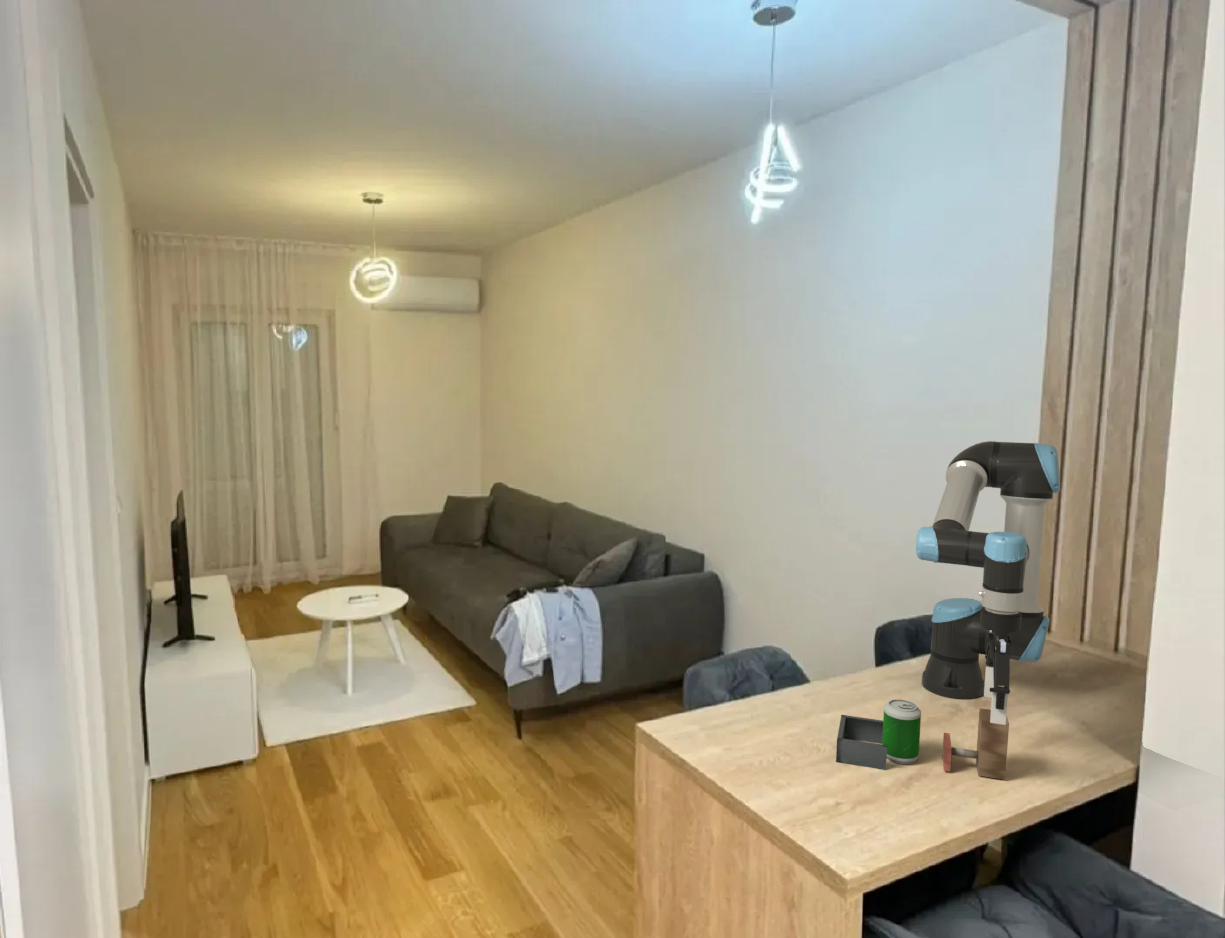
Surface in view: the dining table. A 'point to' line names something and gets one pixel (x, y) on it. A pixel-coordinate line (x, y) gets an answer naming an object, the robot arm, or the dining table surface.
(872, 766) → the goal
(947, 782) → the dining table surface
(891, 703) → the soda can
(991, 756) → the striker
